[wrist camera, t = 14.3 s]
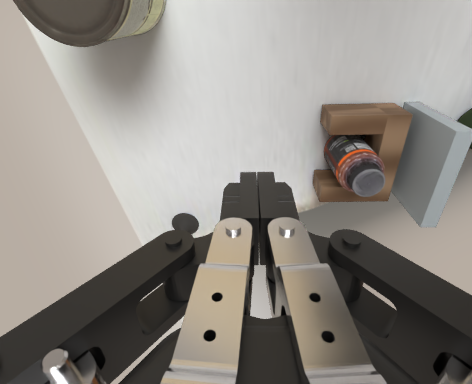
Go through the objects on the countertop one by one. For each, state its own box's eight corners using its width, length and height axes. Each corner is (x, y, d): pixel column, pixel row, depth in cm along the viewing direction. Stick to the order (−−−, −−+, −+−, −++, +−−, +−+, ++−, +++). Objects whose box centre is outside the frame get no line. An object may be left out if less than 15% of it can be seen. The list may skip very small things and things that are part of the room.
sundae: (208, 233, 55) (196, 300, 42) (175, 240, 56) (154, 307, 43) (197, 205, 52) (181, 269, 39) (162, 213, 53) (135, 276, 40)
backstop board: (404, 102, 41) (456, 131, 31) (419, 101, 41) (476, 131, 31) (383, 181, 48) (420, 227, 38) (395, 181, 48) (436, 227, 38)
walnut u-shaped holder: (322, 104, 42) (332, 116, 37) (394, 102, 41) (413, 114, 36) (312, 183, 48) (319, 201, 44) (374, 182, 48) (387, 201, 43)
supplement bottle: (343, 171, 47) (367, 212, 38) (314, 153, 46) (333, 190, 36) (370, 142, 45) (404, 178, 35) (341, 121, 43) (369, 153, 34)
